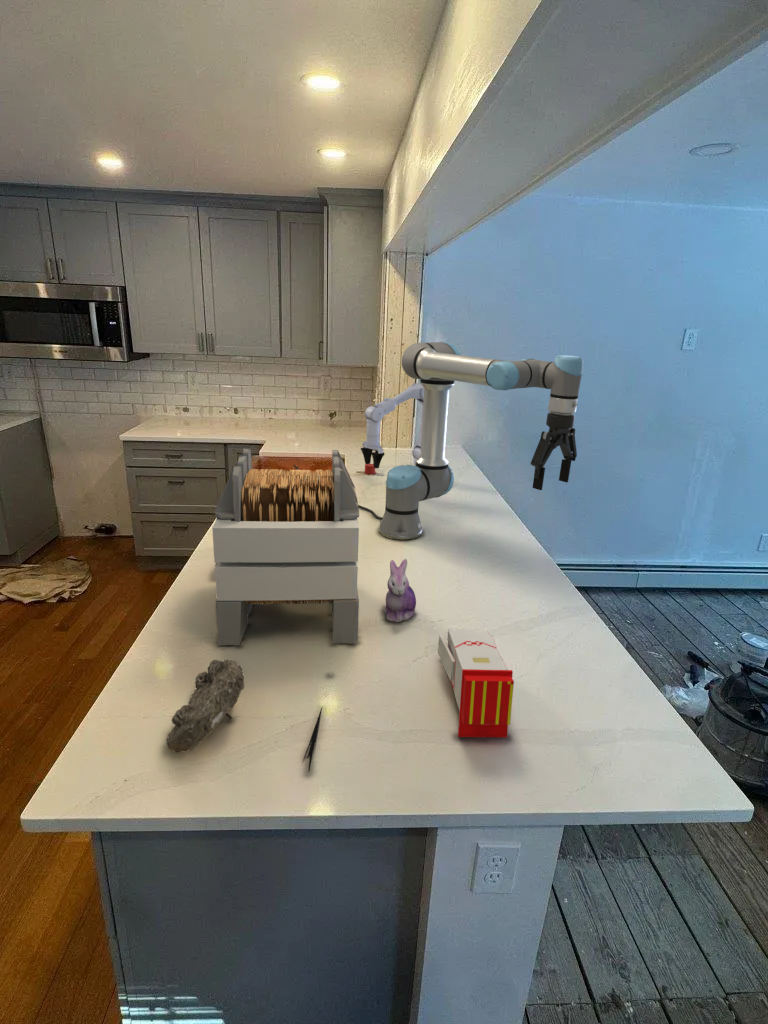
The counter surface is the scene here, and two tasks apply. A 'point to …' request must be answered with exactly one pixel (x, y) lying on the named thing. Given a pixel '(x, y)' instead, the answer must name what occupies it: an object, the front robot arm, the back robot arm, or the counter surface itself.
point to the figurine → (399, 594)
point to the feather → (313, 740)
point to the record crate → (286, 545)
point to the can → (369, 469)
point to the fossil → (206, 705)
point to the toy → (478, 682)
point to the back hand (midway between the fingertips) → (371, 465)
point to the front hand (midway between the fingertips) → (550, 485)
